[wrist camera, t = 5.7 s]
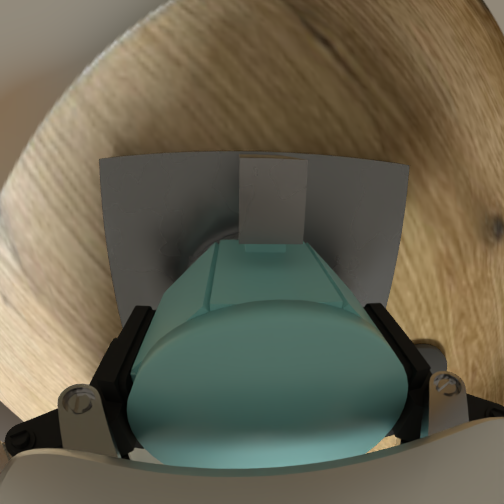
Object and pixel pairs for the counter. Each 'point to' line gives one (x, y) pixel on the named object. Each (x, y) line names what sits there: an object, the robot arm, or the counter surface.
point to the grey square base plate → (249, 215)
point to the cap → (262, 365)
